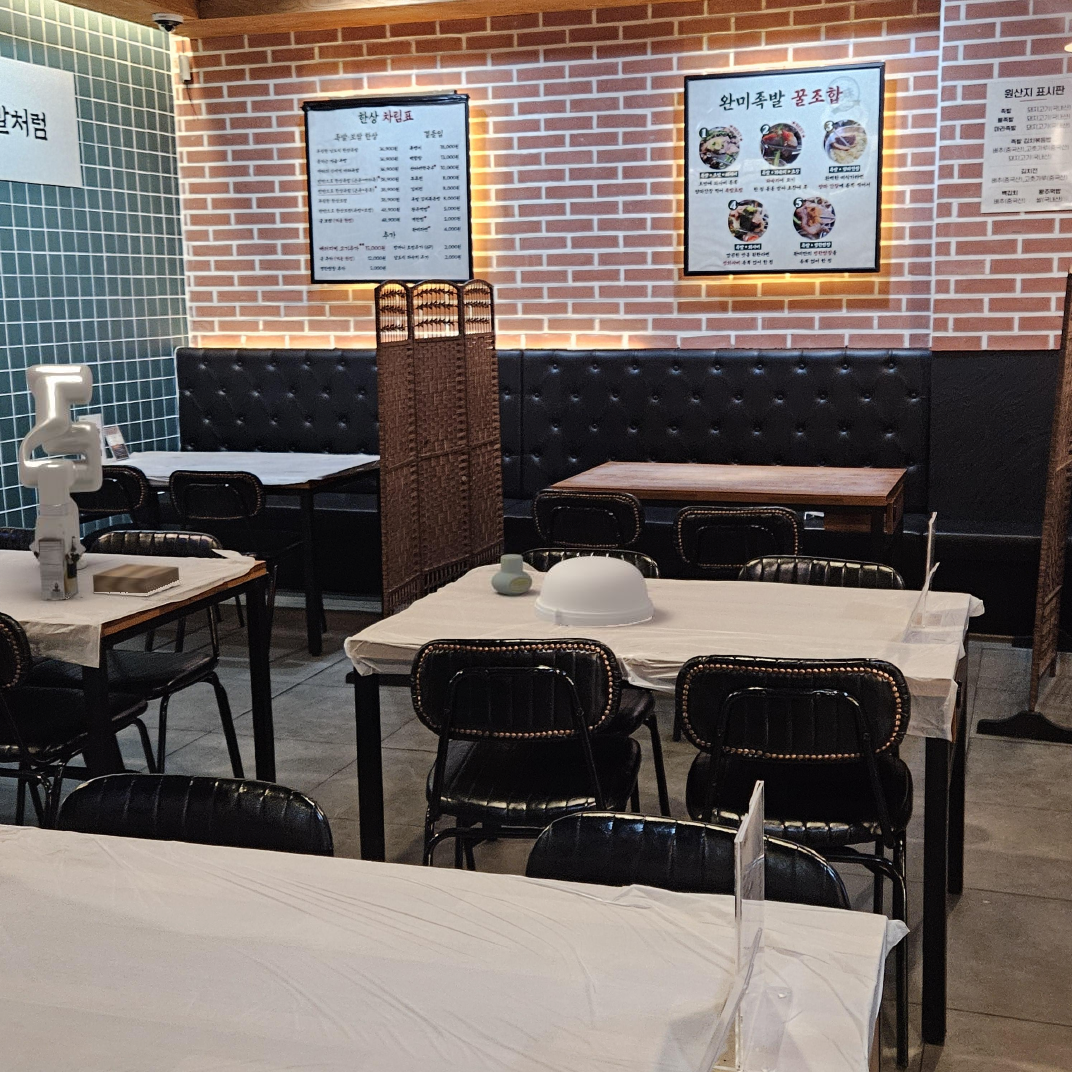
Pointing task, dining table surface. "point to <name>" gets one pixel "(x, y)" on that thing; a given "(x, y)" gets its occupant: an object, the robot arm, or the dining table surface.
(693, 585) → the dining table surface
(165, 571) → the walnut base
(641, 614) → the dome cover
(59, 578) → the coffee box
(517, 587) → the air freshener
